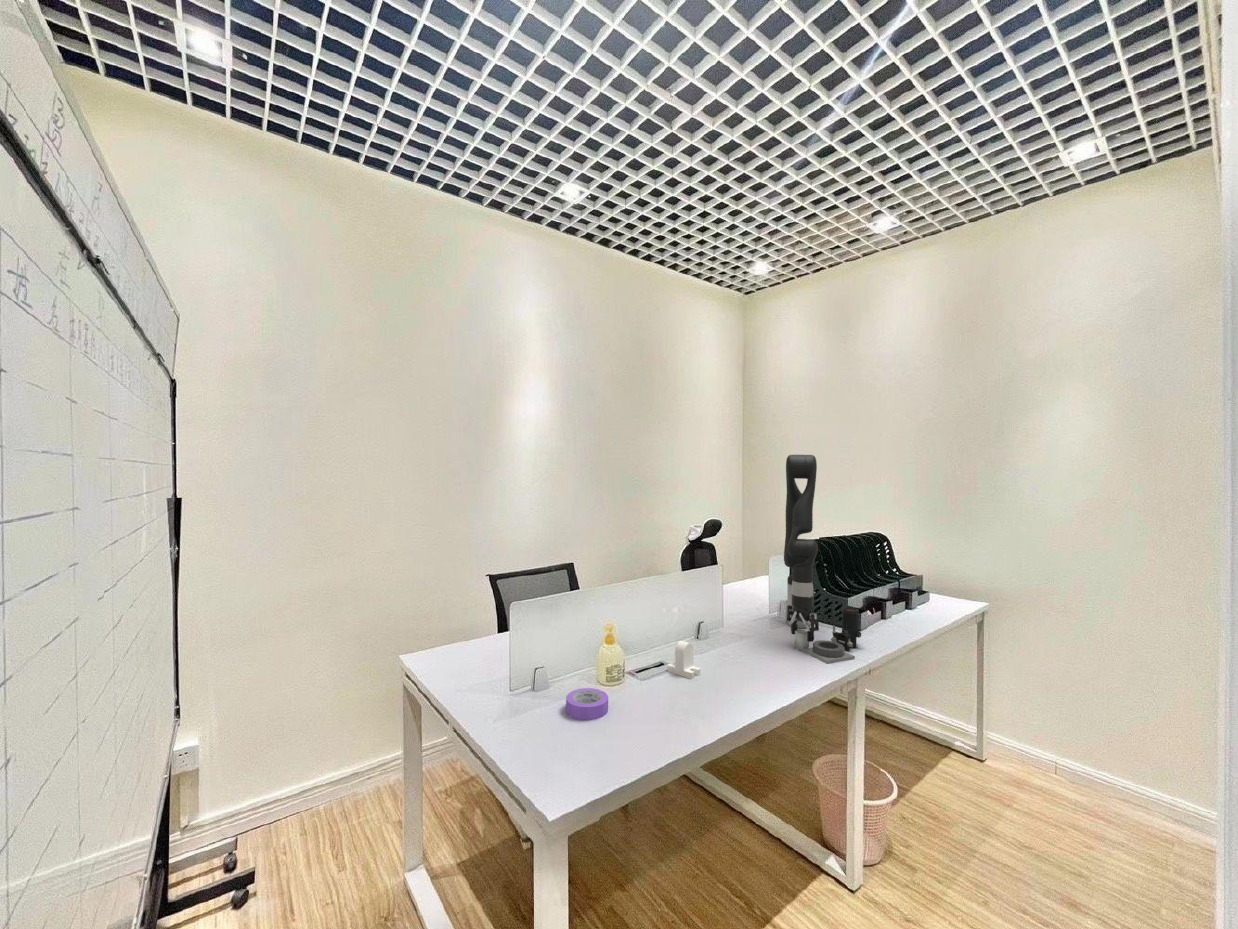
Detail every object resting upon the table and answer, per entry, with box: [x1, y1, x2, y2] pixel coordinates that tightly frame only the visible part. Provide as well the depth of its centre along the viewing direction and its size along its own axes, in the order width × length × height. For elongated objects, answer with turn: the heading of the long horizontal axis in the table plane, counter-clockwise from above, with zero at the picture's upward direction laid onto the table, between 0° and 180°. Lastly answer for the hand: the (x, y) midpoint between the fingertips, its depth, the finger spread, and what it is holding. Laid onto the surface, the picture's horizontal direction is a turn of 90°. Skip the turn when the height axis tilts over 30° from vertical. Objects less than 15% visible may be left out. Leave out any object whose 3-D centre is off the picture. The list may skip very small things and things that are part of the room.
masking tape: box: [565, 687, 609, 721], centre depth 145 cm, size 12×12×4 cm
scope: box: [830, 606, 862, 652], centre depth 193 cm, size 8×14×10 cm
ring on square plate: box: [802, 639, 856, 665], centre depth 185 cm, size 12×12×4 cm
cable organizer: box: [667, 640, 701, 680], centre depth 170 cm, size 5×10×10 cm, turn 47°
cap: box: [794, 628, 810, 651], centre depth 192 cm, size 5×5×6 cm
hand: (802, 637), depth 191 cm, fingers open, 8 cm apart
